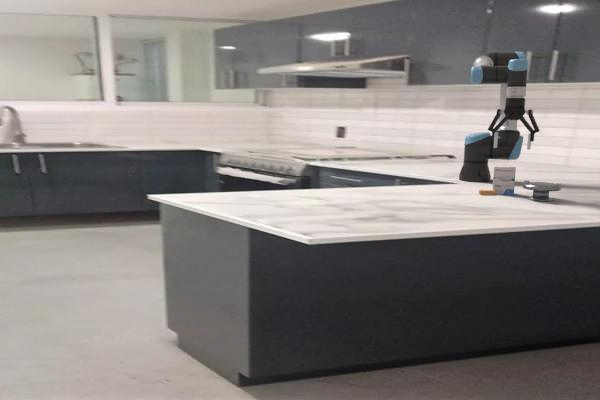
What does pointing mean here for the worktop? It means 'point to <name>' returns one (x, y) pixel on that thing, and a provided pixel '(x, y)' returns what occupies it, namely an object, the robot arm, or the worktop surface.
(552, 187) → the rosette stub
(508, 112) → the robot arm
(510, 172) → the ink box
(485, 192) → the wedge pin
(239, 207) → the worktop surface
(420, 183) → the worktop surface
